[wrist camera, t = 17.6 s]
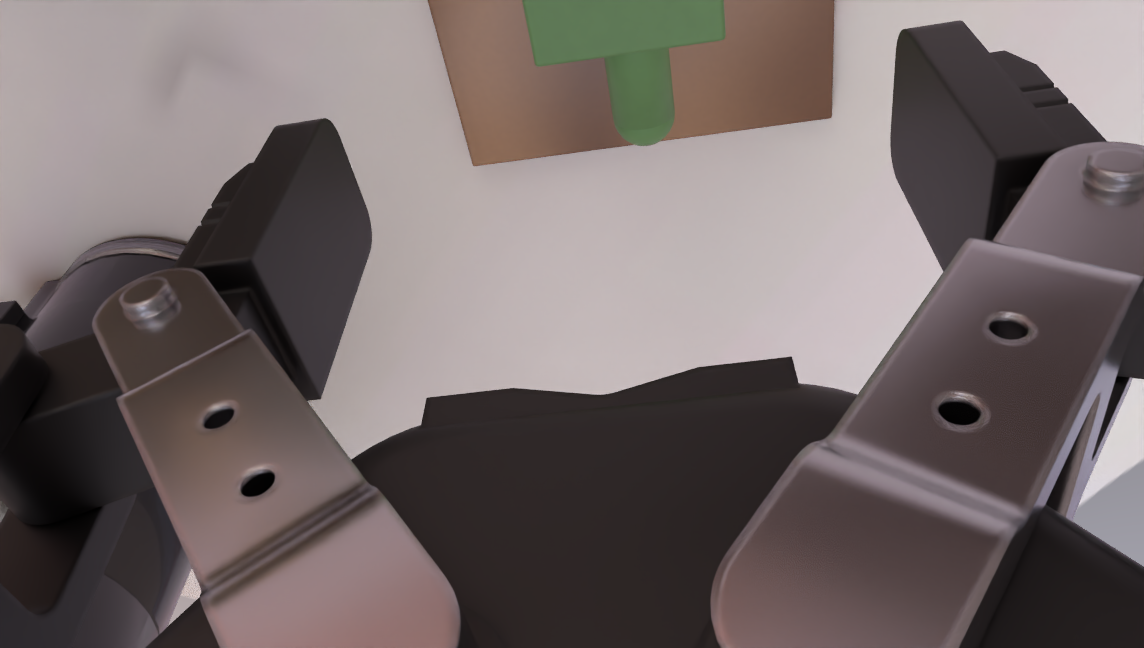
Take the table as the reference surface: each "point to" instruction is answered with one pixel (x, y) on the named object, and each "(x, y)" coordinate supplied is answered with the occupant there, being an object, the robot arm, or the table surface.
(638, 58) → the toy dinosaur
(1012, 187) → the robot arm
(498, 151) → the wooden board
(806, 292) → the table surface
